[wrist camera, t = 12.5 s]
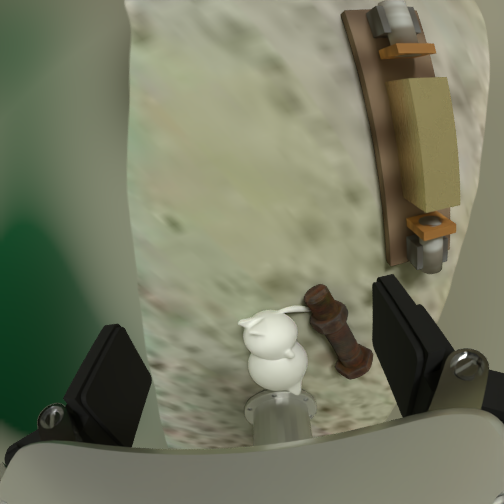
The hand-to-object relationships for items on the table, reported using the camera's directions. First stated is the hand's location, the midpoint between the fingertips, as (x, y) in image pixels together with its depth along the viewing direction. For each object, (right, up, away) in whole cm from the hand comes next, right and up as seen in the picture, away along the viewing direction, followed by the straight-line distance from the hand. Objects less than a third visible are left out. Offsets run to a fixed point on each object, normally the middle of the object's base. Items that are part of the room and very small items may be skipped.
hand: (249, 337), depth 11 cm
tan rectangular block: (+18, +15, +18) cm, 29 cm away
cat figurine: (+4, -8, +31) cm, 32 cm away
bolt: (+11, -6, +30) cm, 33 cm away
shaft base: (+18, +16, +19) cm, 31 cm away
